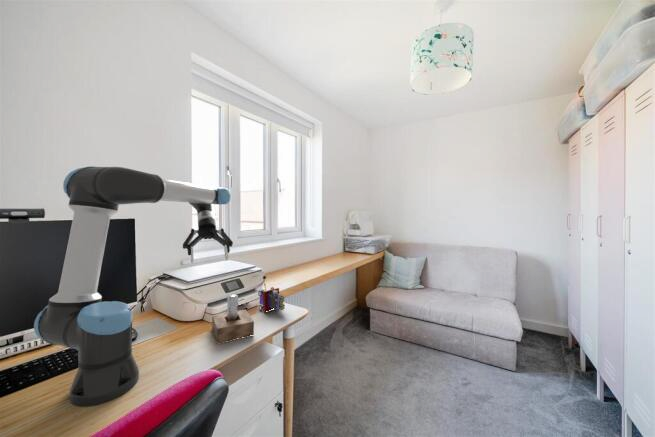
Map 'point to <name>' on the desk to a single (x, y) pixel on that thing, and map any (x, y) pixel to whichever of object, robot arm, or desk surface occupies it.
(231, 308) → the steel pin
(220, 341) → the walnut socket block
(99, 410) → the desk surface
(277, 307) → the robot toy
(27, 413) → the desk surface
